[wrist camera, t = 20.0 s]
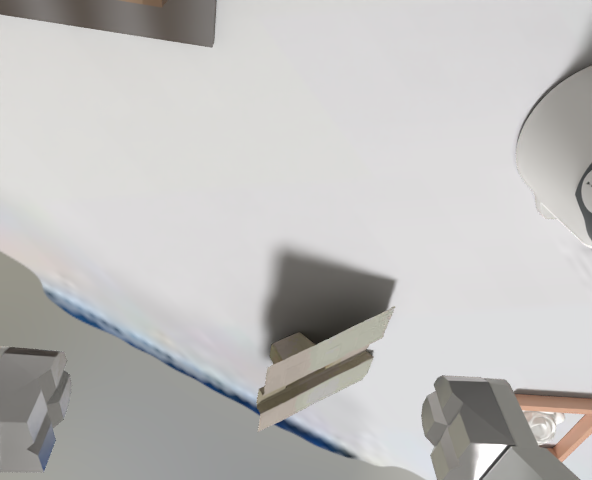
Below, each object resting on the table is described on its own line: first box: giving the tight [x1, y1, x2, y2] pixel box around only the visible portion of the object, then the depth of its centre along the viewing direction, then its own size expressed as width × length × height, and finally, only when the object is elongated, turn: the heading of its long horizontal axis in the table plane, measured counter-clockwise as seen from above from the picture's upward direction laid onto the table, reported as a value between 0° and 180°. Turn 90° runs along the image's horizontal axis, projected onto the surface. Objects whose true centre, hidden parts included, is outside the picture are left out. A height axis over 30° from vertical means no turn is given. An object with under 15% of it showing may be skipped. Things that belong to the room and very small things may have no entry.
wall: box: [256, 306, 395, 432], centre depth 59 cm, size 19×10×17 cm
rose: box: [522, 410, 565, 445], centre depth 75 cm, size 10×4×10 cm
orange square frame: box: [515, 394, 592, 462], centre depth 77 cm, size 16×16×2 cm
